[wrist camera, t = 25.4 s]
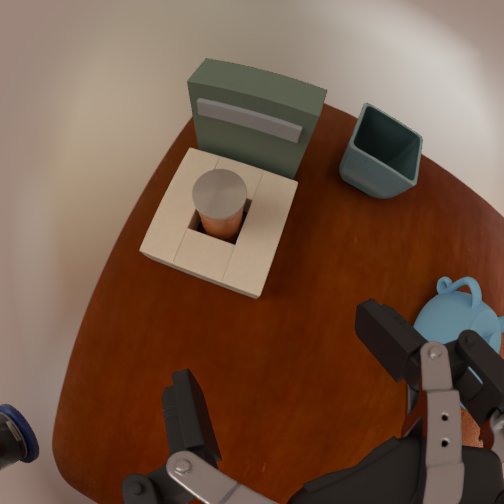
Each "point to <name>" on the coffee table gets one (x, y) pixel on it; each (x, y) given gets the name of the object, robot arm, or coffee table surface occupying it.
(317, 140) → the coffee table surface
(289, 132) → the green upright block
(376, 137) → the flower pot
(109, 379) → the coffee table surface
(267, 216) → the hollow square tile
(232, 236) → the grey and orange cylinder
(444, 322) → the teapot
